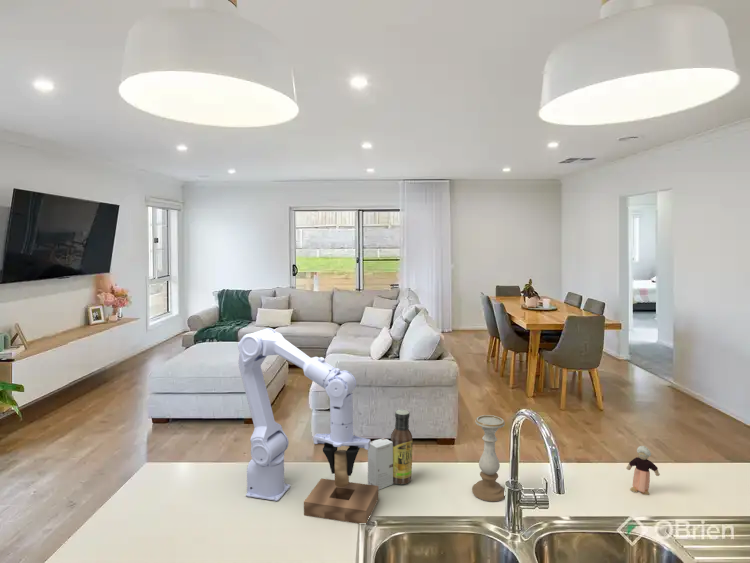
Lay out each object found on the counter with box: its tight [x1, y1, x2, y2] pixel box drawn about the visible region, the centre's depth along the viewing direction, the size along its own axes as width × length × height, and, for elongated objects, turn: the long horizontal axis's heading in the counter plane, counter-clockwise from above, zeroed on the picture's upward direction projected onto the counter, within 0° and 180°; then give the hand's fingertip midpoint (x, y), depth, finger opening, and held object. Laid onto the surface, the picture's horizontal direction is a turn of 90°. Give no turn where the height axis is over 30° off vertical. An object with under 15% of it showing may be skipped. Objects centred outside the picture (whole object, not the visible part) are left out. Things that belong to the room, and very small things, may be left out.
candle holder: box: [471, 414, 506, 502], centre depth 127 cm, size 9×9×20 cm
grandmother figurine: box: [626, 445, 661, 496], centre depth 128 cm, size 8×4×13 cm, turn 68°
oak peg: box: [334, 449, 350, 487], centre depth 121 cm, size 4×4×8 cm
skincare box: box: [367, 437, 394, 490], centre depth 132 cm, size 6×4×12 cm
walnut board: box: [303, 478, 380, 525], centre depth 122 cm, size 16×12×4 cm
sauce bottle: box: [390, 409, 413, 485], centre depth 134 cm, size 6×6×20 cm
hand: (342, 472), depth 121 cm, fingers closed on oak peg, 4 cm apart
